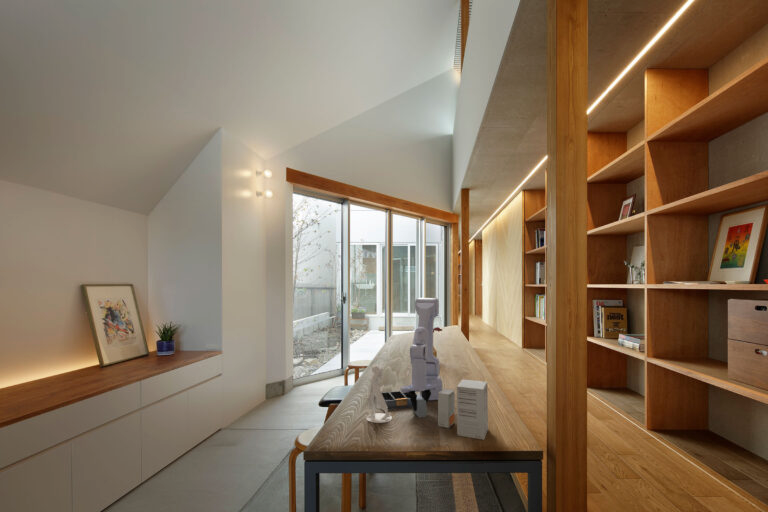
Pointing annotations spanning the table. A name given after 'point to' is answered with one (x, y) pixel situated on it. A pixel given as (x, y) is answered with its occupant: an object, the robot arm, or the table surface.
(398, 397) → the divided tray
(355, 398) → the table surface
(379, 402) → the female figurine
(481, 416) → the supplement box
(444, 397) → the skincare box
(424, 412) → the grey rectangular block
